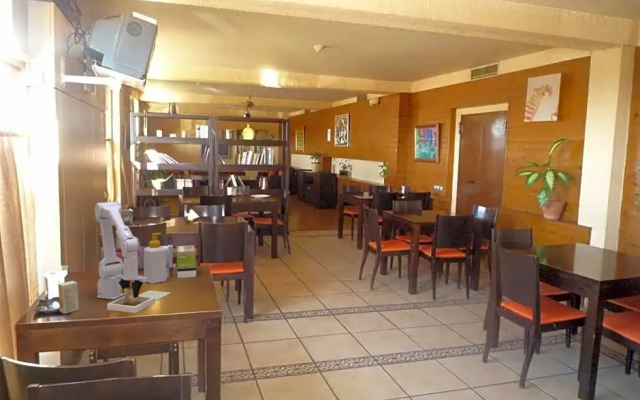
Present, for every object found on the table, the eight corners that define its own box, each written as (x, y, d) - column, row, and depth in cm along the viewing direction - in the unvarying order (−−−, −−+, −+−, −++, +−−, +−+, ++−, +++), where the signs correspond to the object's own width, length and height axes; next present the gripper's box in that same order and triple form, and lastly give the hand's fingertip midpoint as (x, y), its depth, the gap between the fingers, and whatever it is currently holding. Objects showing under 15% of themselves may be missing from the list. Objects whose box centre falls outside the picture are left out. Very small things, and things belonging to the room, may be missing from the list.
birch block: (124, 302, 204) (124, 288, 203) (130, 299, 208) (130, 285, 207) (132, 302, 203) (132, 289, 202) (138, 300, 207) (138, 286, 206)
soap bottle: (167, 281, 245) (166, 233, 242) (151, 284, 238) (150, 235, 235) (159, 277, 251) (158, 231, 248) (143, 281, 244) (142, 233, 241)
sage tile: (133, 298, 216) (132, 297, 216) (148, 291, 227) (148, 290, 227) (155, 301, 213) (155, 300, 213) (170, 293, 224) (170, 292, 224)
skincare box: (74, 308, 202) (73, 280, 201) (79, 310, 199) (78, 282, 198) (58, 311, 197) (57, 283, 196) (63, 314, 194) (62, 285, 193)
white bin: (107, 309, 200) (107, 304, 200) (128, 299, 214) (128, 294, 214) (135, 313, 197) (135, 307, 197) (155, 302, 210) (155, 297, 210)
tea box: (176, 271, 265) (176, 245, 263) (195, 270, 268) (194, 244, 266) (177, 278, 251) (176, 251, 249) (196, 277, 254) (196, 250, 252)
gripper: (110, 267, 202) (111, 297, 203) (139, 269, 198) (140, 301, 199) (121, 263, 208) (121, 293, 210) (149, 265, 205) (150, 296, 206)
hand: (131, 296), depth 205 cm, fingers closed on birch block, 4 cm apart
